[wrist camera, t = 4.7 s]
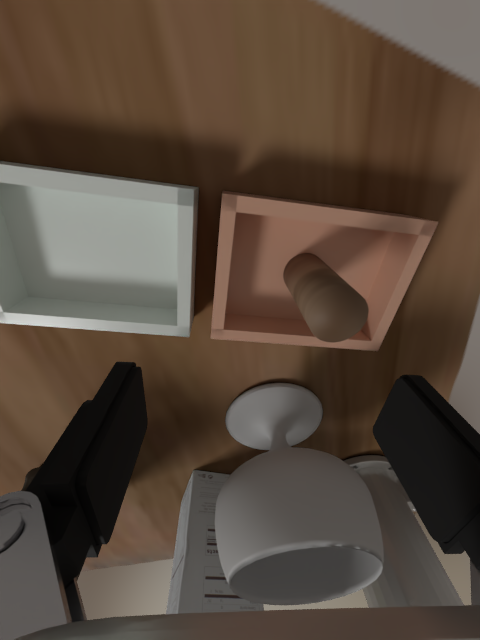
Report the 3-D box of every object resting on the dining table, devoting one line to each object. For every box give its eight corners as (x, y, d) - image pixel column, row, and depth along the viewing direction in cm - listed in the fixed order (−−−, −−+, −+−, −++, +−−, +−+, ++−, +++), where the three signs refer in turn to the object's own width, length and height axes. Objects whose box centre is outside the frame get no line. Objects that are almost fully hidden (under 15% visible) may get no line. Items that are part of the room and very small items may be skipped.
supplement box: (235, 507, 43) (239, 679, 28) (180, 502, 41) (155, 682, 27) (253, 476, 39) (270, 660, 24) (193, 468, 37) (171, 661, 22)
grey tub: (198, 187, 19) (193, 189, 16) (193, 317, 25) (189, 337, 22) (-23, 157, 18) (-74, 154, 15) (24, 302, 23) (-7, 322, 20)
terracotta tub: (408, 215, 21) (438, 222, 18) (360, 330, 26) (377, 351, 23) (222, 190, 20) (222, 193, 16) (212, 318, 25) (210, 338, 22)
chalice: (250, 357, 28) (272, 522, 15) (352, 396, 31) (442, 555, 18) (200, 435, 33) (184, 602, 20) (290, 460, 37) (325, 615, 24)
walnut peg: (329, 255, 22) (377, 293, 15) (318, 294, 24) (356, 344, 17) (288, 250, 21) (317, 287, 14) (279, 290, 23) (302, 340, 16)
